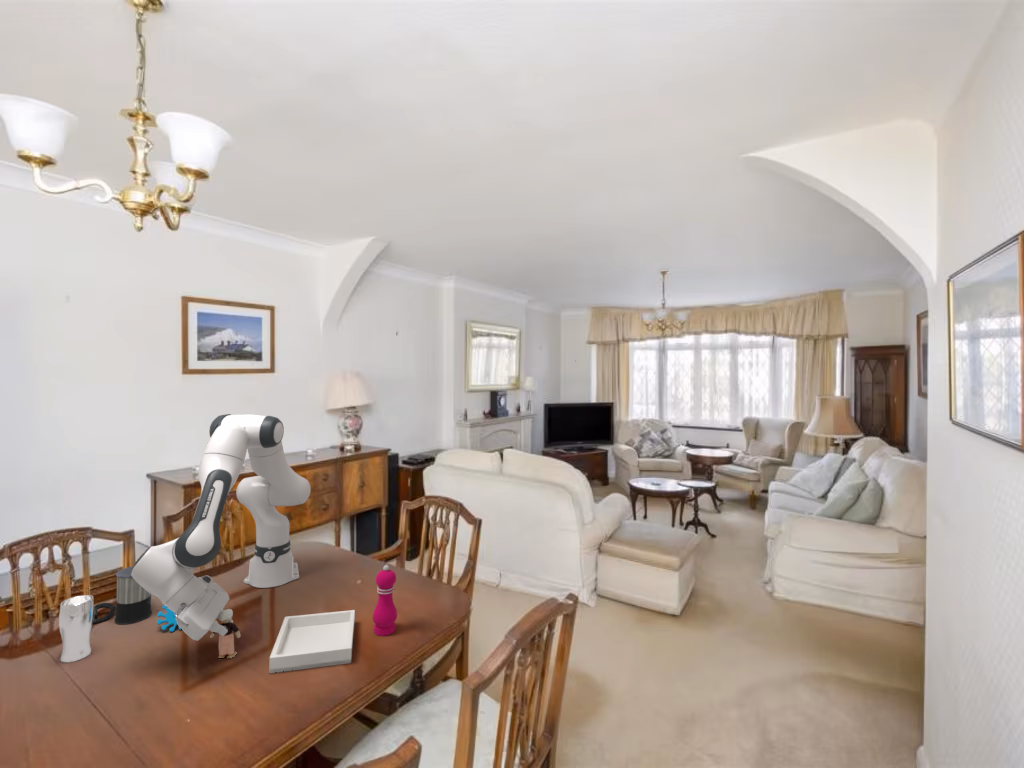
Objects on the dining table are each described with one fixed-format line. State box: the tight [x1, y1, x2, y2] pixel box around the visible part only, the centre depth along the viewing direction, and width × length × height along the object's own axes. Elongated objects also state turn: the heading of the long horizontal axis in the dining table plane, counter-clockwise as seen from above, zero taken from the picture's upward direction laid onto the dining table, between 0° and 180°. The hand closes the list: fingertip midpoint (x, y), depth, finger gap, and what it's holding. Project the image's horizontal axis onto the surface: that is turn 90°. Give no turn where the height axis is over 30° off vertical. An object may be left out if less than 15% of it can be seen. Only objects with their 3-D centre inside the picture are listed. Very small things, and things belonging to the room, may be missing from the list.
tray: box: [268, 609, 356, 674], centre depth 136 cm, size 22×20×4 cm
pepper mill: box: [372, 564, 398, 637], centre depth 145 cm, size 7×7×20 cm
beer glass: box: [58, 594, 95, 663], centre depth 128 cm, size 7×7×15 cm
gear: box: [156, 604, 181, 633], centre depth 146 cm, size 11×6×10 cm
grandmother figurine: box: [209, 608, 242, 659], centre depth 130 cm, size 8×4×13 cm, turn 109°
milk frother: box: [93, 565, 153, 625], centre depth 148 cm, size 14×16×15 cm
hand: (228, 628), depth 130 cm, fingers open, 3 cm apart
